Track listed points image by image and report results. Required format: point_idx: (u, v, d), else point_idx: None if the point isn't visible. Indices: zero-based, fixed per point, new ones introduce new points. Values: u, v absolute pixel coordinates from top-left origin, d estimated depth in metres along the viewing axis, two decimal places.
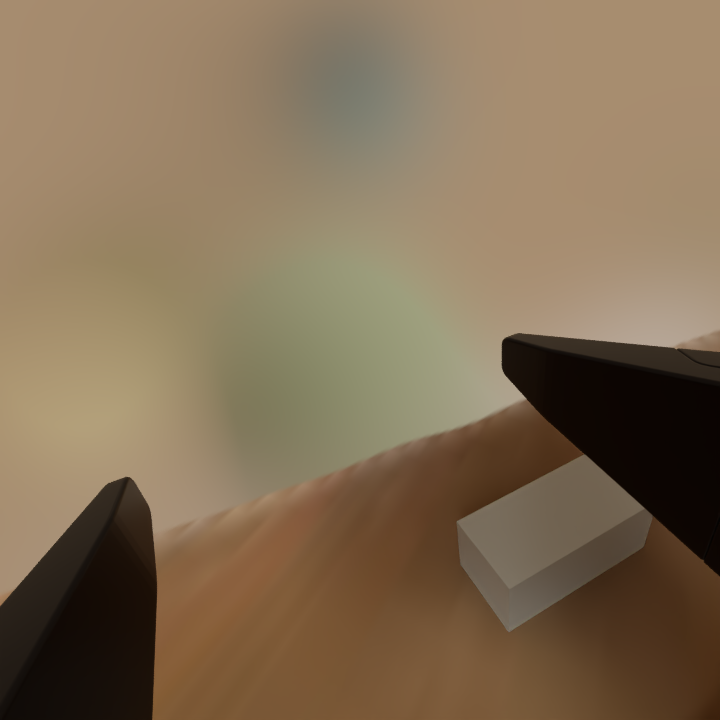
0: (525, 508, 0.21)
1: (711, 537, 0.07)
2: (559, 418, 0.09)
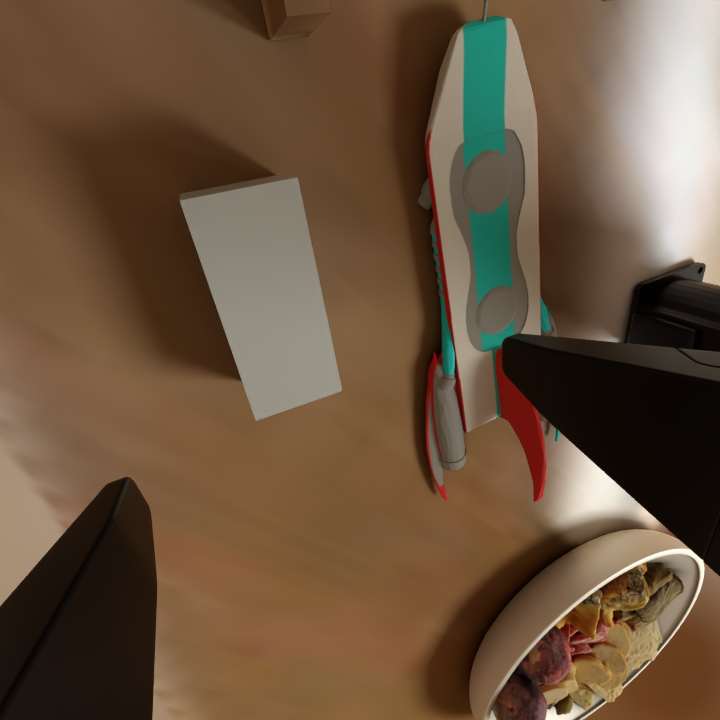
0: (260, 341, 0.16)
1: (710, 537, 0.07)
2: (559, 418, 0.09)
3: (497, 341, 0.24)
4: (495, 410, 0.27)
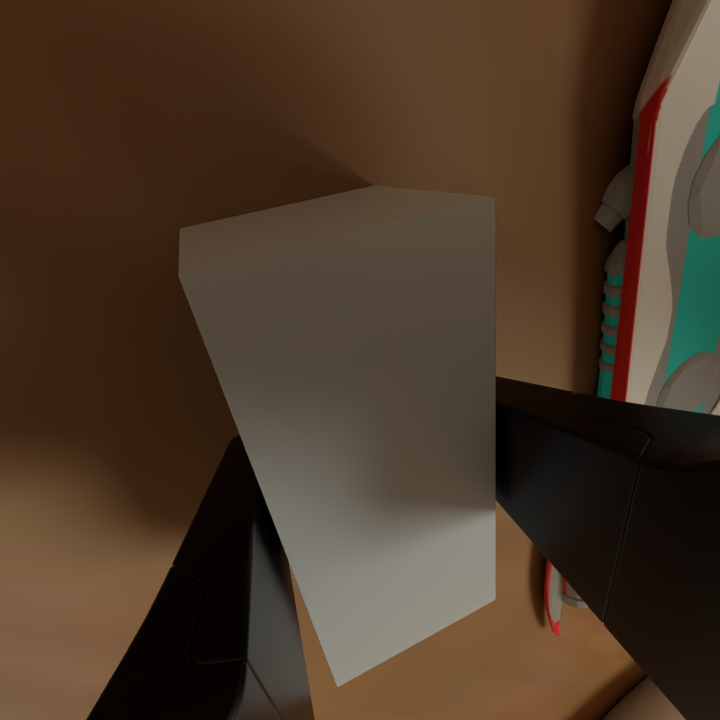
0: (362, 559, 0.07)
1: (607, 601, 0.07)
2: None
3: None
4: None
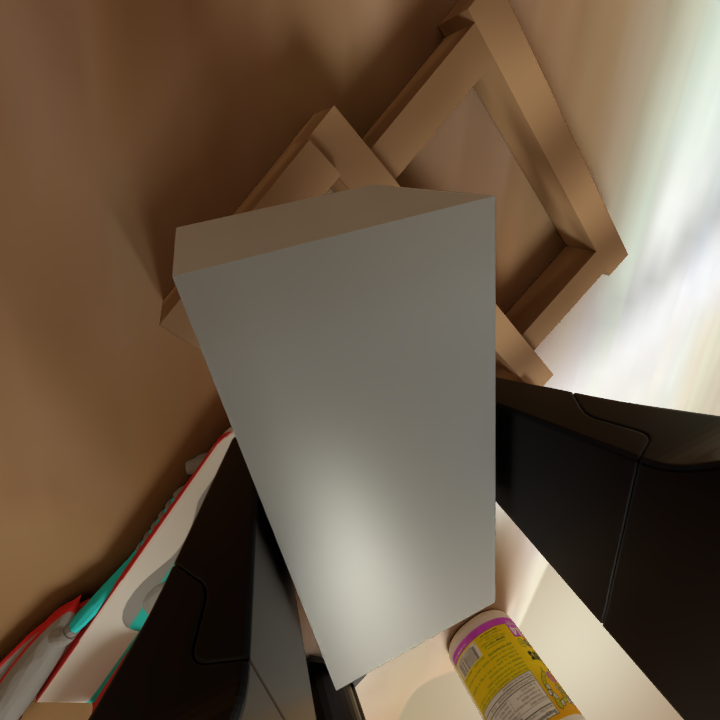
0: (361, 562, 0.07)
1: (605, 602, 0.07)
2: None
3: None
4: (91, 694, 0.22)
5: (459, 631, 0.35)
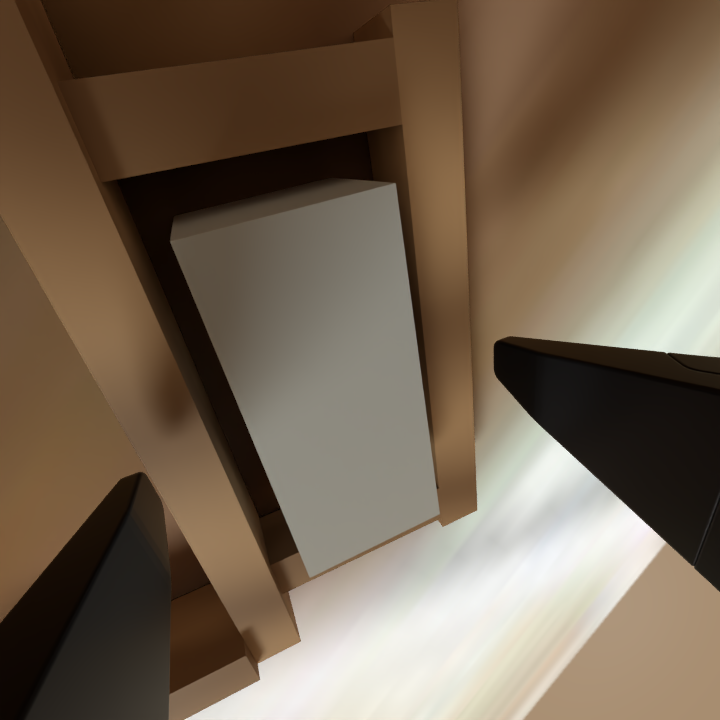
0: (320, 466, 0.09)
1: (701, 544, 0.07)
2: (550, 422, 0.09)
3: None
4: None
5: None
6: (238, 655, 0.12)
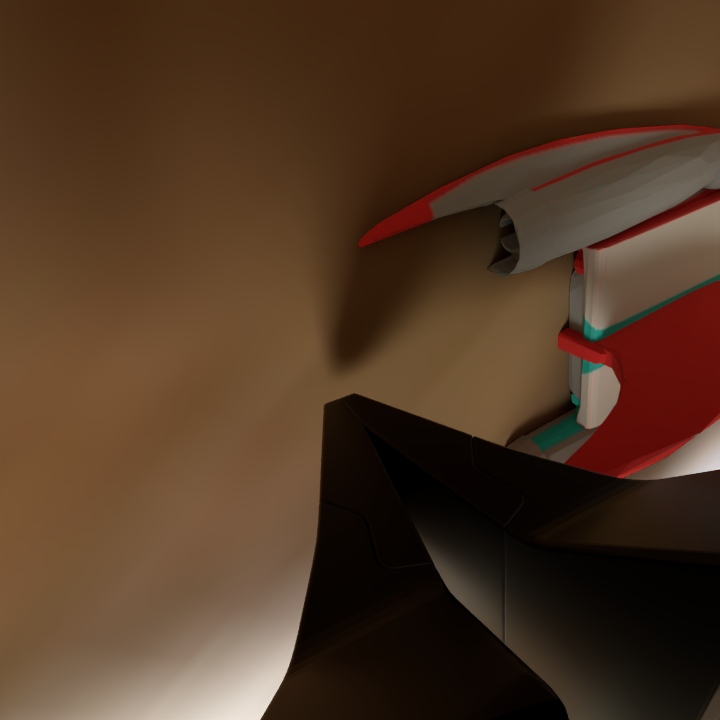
0: None
1: None
2: None
3: None
4: (616, 320, 0.11)
5: None
6: None
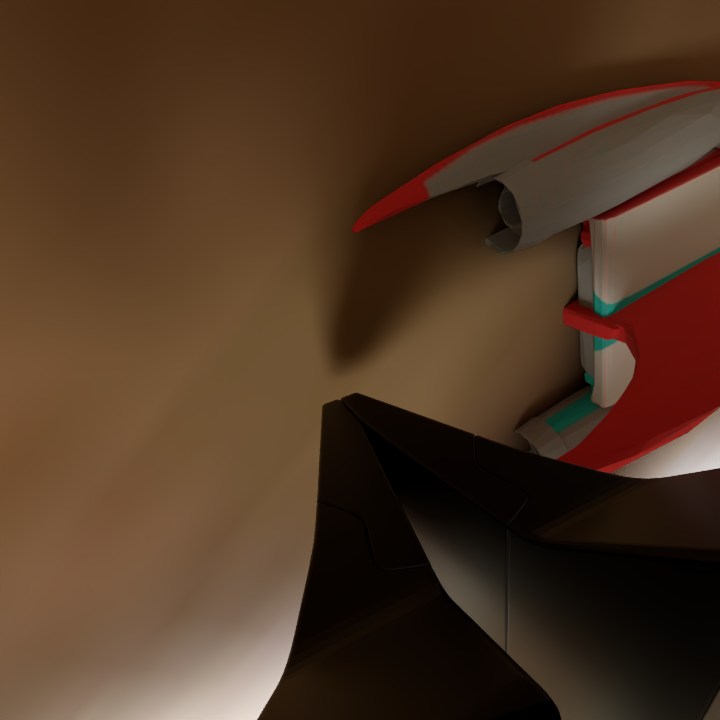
0: None
1: None
2: None
3: None
4: (628, 293, 0.11)
5: None
6: None
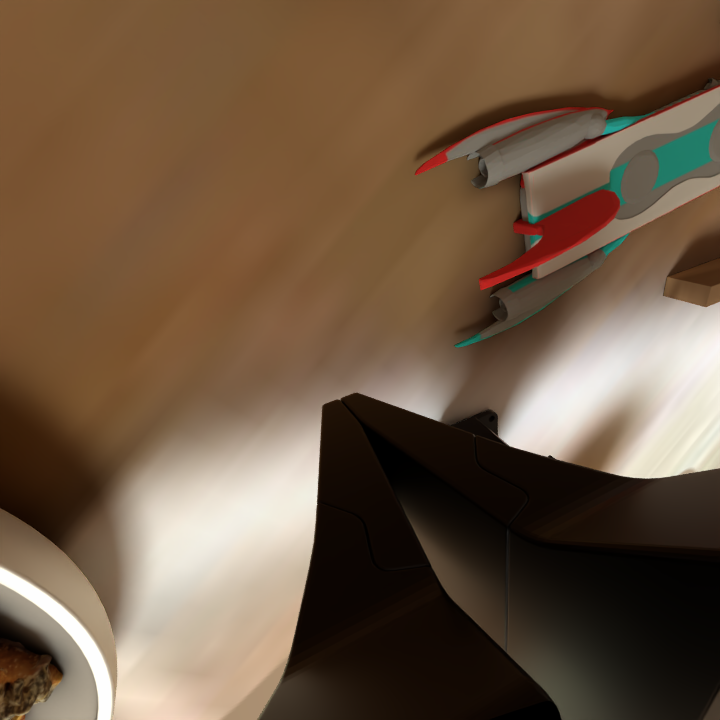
0: None
1: None
2: None
3: (613, 188, 0.23)
4: (544, 211, 0.22)
5: None
6: None
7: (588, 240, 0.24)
